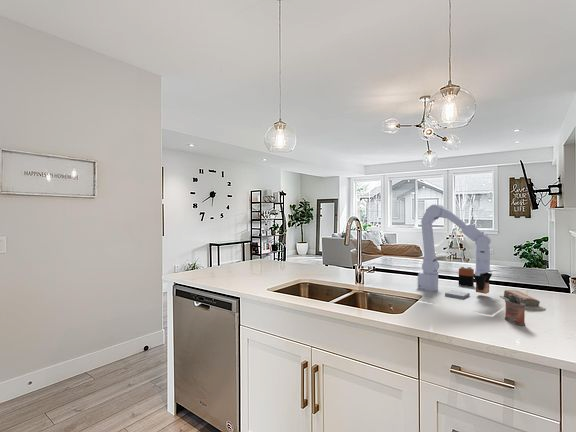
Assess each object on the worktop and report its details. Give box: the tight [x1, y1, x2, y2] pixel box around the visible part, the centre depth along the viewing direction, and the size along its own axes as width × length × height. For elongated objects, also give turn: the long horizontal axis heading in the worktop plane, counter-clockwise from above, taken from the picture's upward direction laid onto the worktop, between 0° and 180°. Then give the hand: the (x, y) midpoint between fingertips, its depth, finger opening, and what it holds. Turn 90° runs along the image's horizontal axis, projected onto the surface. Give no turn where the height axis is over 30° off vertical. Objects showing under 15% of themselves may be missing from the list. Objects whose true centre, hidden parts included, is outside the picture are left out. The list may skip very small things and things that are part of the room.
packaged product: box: [499, 289, 547, 311], centre depth 147 cm, size 18×5×10 cm
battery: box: [458, 266, 475, 288], centre depth 183 cm, size 4×7×10 cm, turn 50°
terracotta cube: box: [475, 282, 490, 294], centre depth 157 cm, size 4×4×4 cm
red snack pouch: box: [504, 294, 526, 327], centre depth 122 cm, size 8×3×10 cm, turn 5°
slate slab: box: [444, 289, 471, 300], centre depth 157 cm, size 8×8×2 cm
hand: (482, 289), depth 157 cm, fingers closed on terracotta cube, 4 cm apart
